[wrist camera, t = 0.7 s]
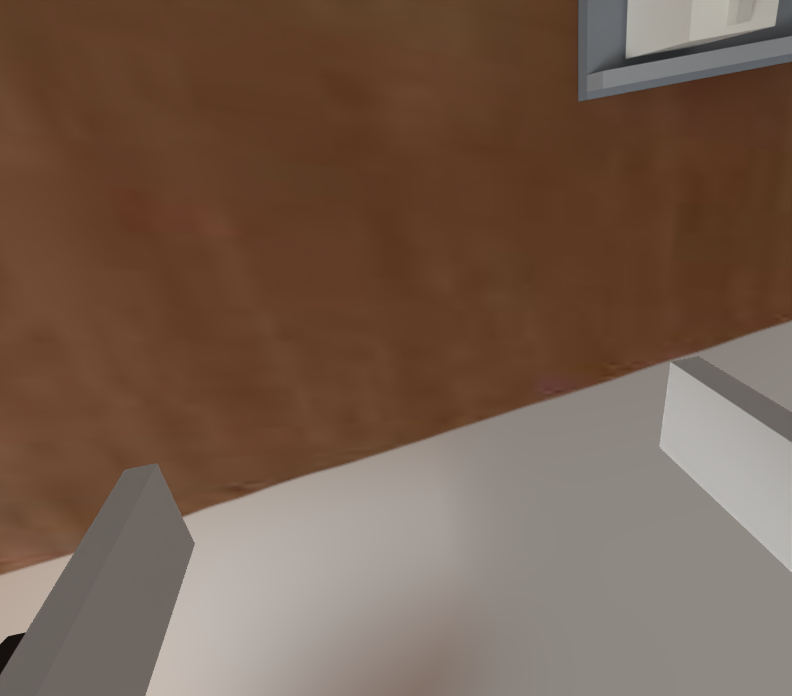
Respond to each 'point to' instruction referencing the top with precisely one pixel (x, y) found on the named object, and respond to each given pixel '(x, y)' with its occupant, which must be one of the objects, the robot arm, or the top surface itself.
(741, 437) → the robot arm
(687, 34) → the white block with handle
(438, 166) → the top surface
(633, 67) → the switch board
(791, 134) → the top surface
